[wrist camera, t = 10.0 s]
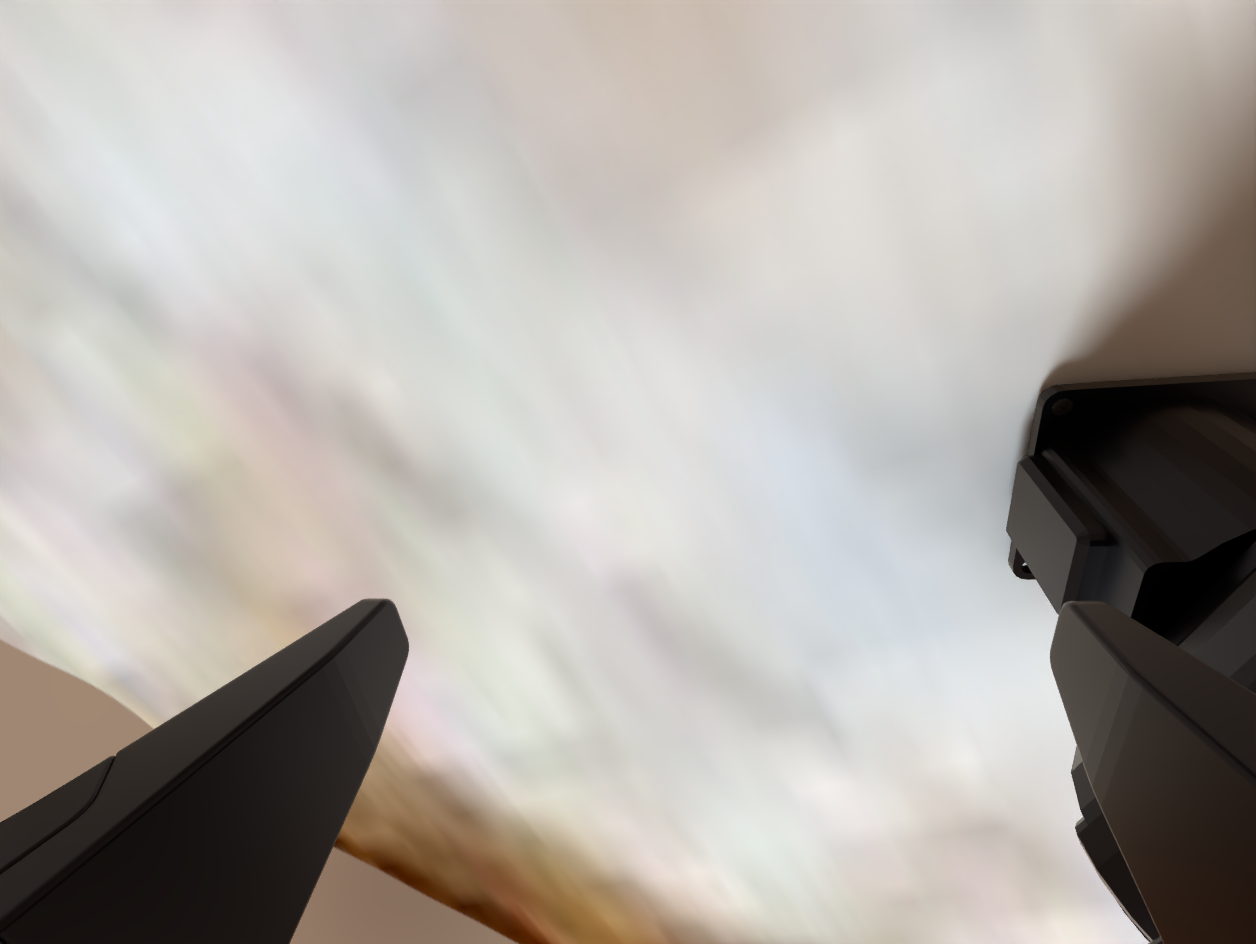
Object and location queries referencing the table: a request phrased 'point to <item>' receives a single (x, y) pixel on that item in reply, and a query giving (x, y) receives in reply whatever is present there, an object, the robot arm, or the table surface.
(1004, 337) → the table surface
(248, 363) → the table surface
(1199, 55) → the table surface
